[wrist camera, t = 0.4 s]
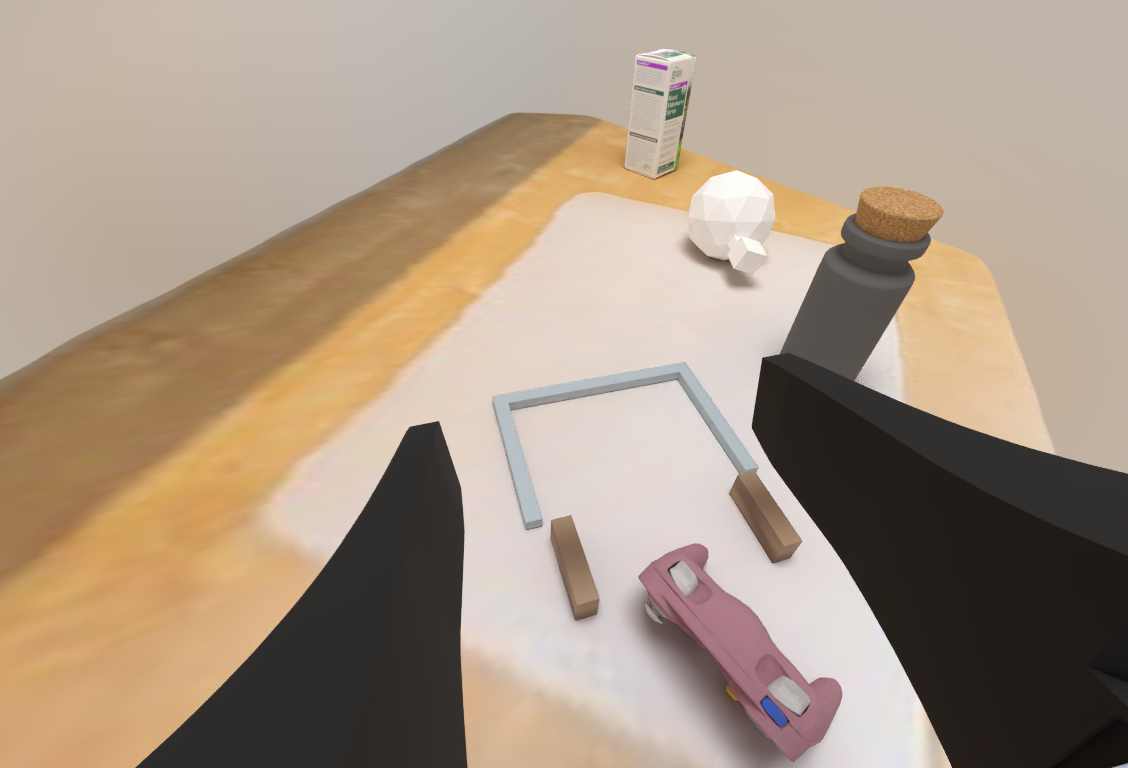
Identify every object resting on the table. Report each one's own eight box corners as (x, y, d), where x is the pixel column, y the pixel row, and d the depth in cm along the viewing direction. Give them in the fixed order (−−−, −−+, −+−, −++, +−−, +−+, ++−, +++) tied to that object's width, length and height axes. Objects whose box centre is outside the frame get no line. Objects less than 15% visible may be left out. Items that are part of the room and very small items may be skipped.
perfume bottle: (664, 217, 57) (688, 285, 50) (708, 142, 51) (744, 207, 43) (726, 237, 60) (758, 304, 53) (775, 168, 54) (820, 233, 46)
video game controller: (642, 595, 29) (612, 577, 23) (698, 541, 30) (682, 510, 24) (782, 765, 24) (788, 796, 18) (849, 696, 24) (875, 704, 18)
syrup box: (654, 180, 70) (674, 60, 60) (622, 168, 73) (635, 51, 63) (677, 170, 73) (699, 54, 63) (645, 159, 76) (661, 46, 66)
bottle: (759, 363, 42) (831, 188, 32) (812, 348, 44) (897, 177, 34) (808, 410, 38) (908, 229, 28) (864, 391, 40) (977, 214, 30)
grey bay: (755, 474, 34) (758, 467, 33) (526, 529, 30) (525, 522, 30) (683, 369, 41) (685, 361, 41) (493, 403, 38) (492, 396, 37)
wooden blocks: (790, 557, 30) (802, 540, 28) (575, 620, 26) (577, 605, 25) (745, 489, 33) (754, 471, 32) (550, 537, 30) (551, 519, 29)
